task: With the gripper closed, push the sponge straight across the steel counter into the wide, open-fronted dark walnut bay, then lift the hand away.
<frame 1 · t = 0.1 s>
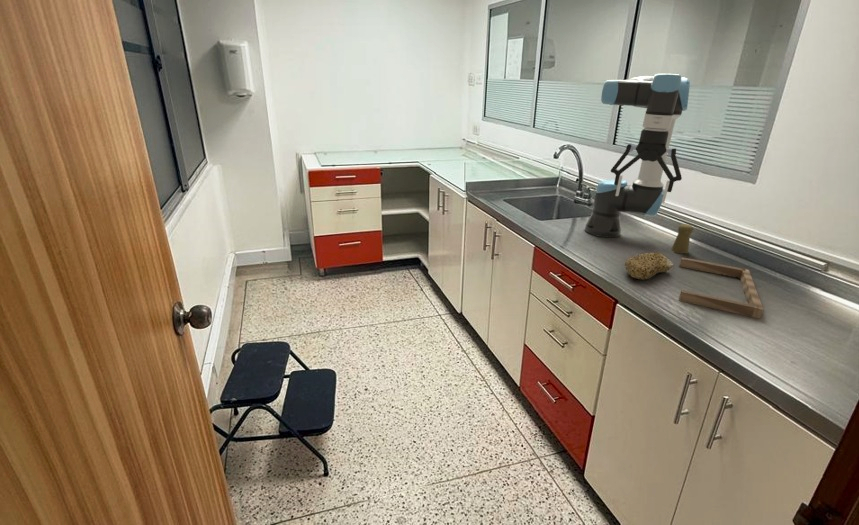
hand: (639, 198, 140), 28 cm above the worktop, tool pointing down, fingers open, 13 cm apart
olive waisted cylinder: (679, 251, 178), on the worktop
sponge: (644, 274, 155), on the worktop
walnut bay: (712, 287, 146), on the worktop
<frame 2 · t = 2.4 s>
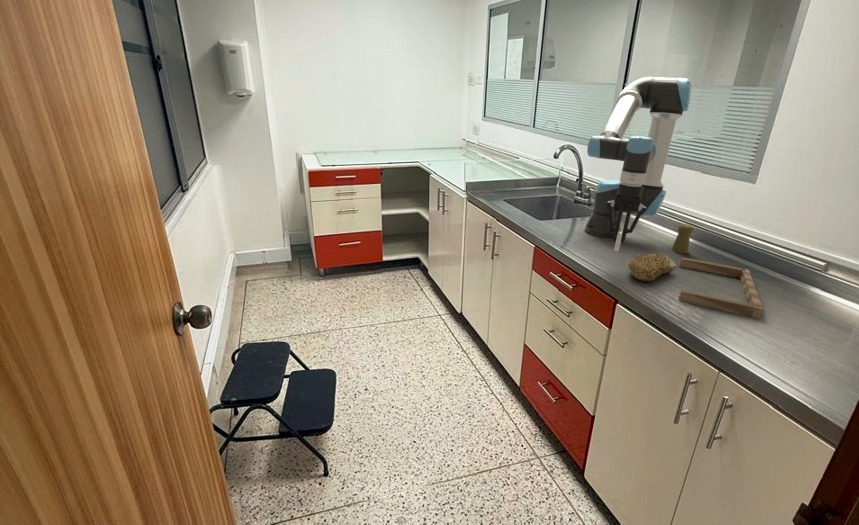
hand: (616, 249, 156), 7 cm above the worktop, tool pointing down, fingers closed
sponge: (647, 276, 154), on the worktop
everything else where it was.
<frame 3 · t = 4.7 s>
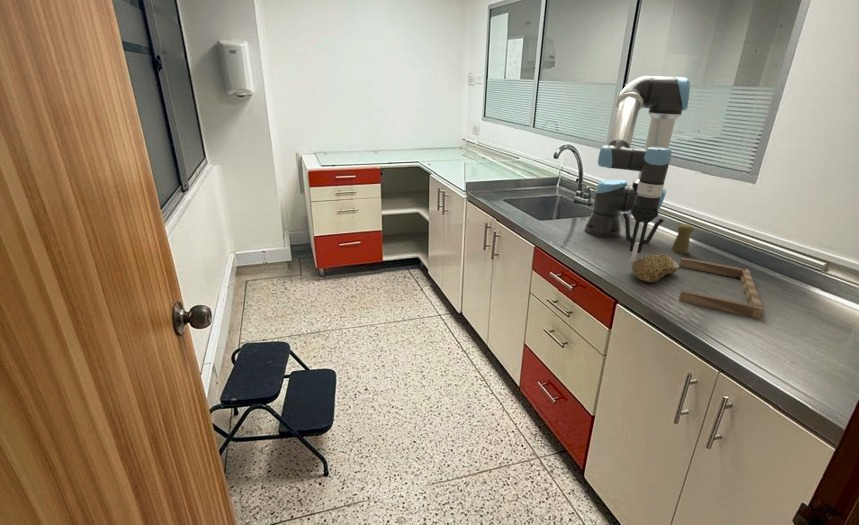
hand: (632, 260, 155), 4 cm above the worktop, tool pointing down, fingers closed
sponge: (651, 277, 153), on the worktop, touching gripper
everything else where it was.
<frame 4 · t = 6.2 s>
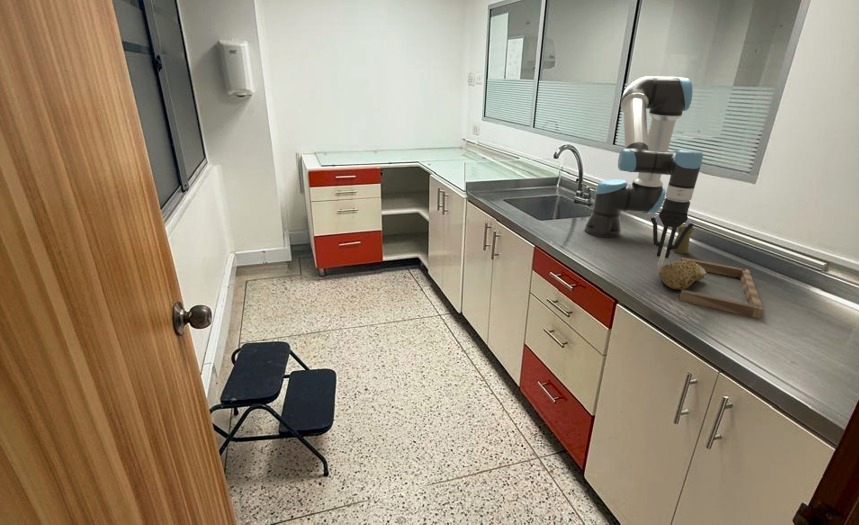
hand: (659, 265, 151), 4 cm above the worktop, tool pointing down, fingers closed
sponge: (678, 284, 148), on the worktop, touching gripper
everything else where it was.
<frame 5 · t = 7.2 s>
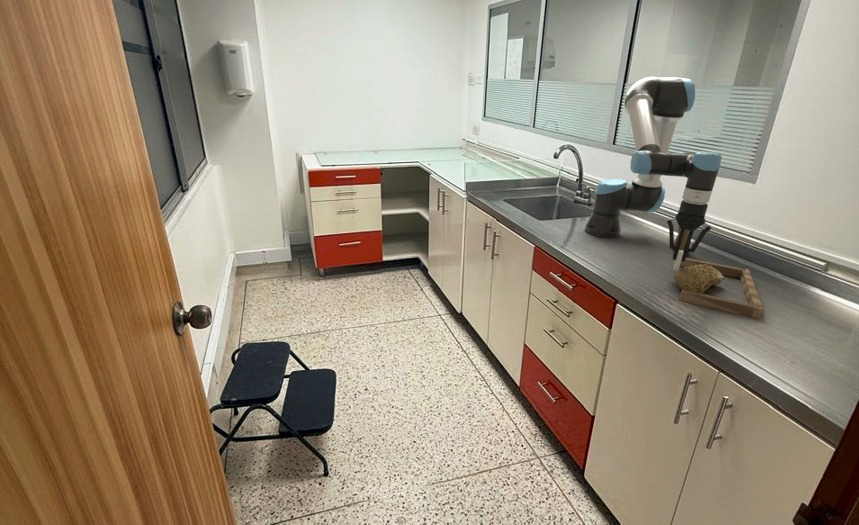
hand: (675, 269, 149), 4 cm above the worktop, tool pointing down, fingers closed
sponge: (694, 288, 146), on the worktop
everything else where it was.
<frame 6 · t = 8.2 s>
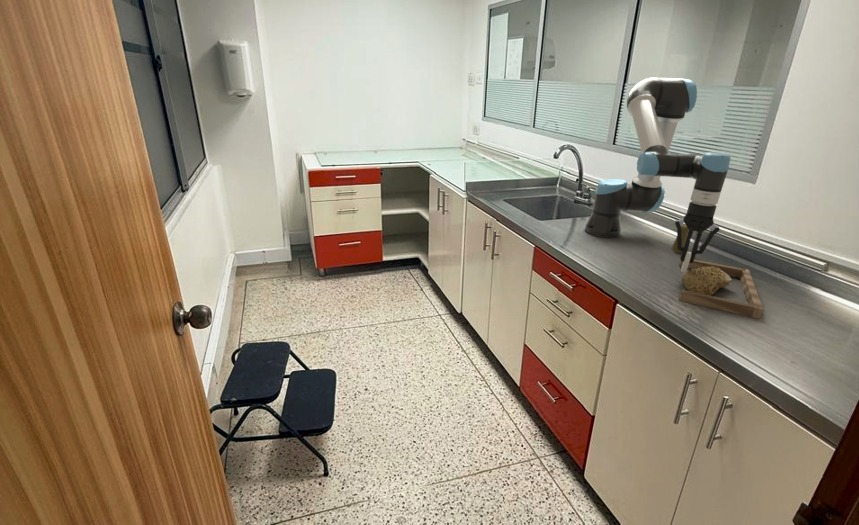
hand: (683, 270, 148), 4 cm above the worktop, tool pointing down, fingers closed
sponge: (701, 290, 144), on the worktop
everything else where it was.
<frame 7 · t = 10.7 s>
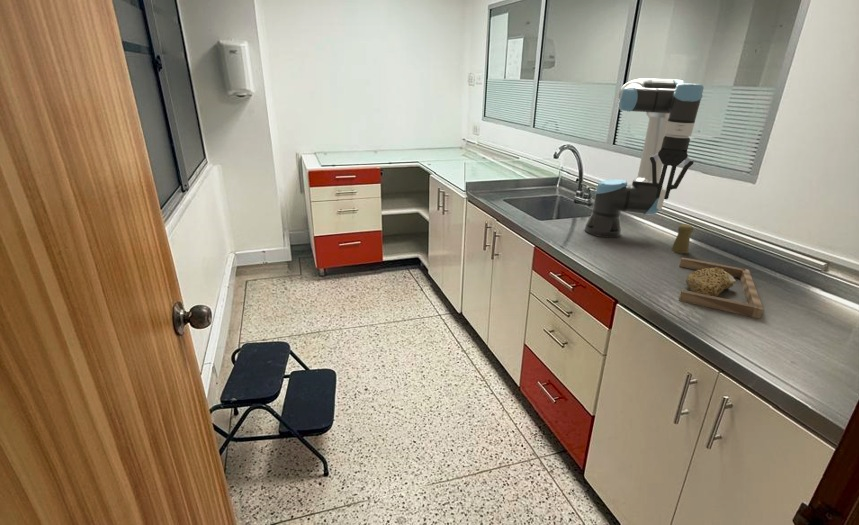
hand: (659, 207, 148), 23 cm above the worktop, tool pointing down, fingers closed
sponge: (706, 292, 143), on the worktop
everything else where it was.
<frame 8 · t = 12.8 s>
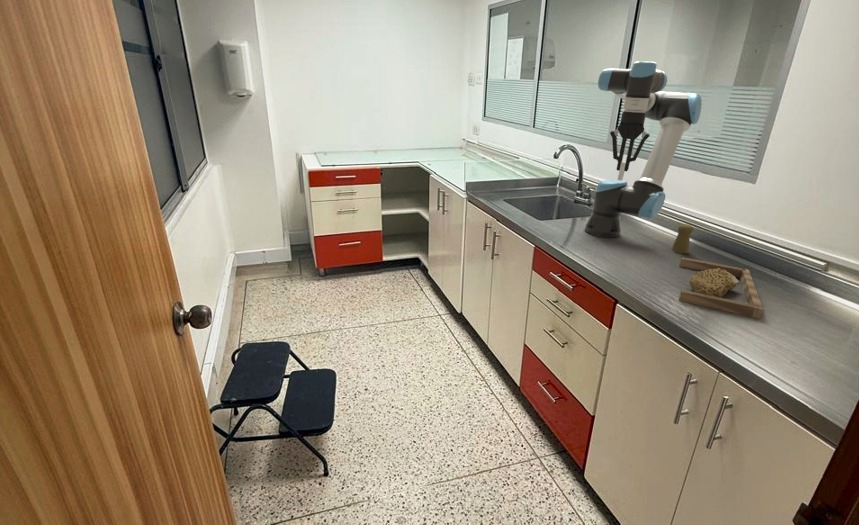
hand: (620, 179, 159), 29 cm above the worktop, tool pointing down, fingers closed
sponge: (709, 293, 143), on the worktop
everything else where it was.
at the end: sponge inside the target area (4.6 cm from its centre), on the worktop; sponge moved 20.5 cm from its start; sponge tilted 0° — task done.
